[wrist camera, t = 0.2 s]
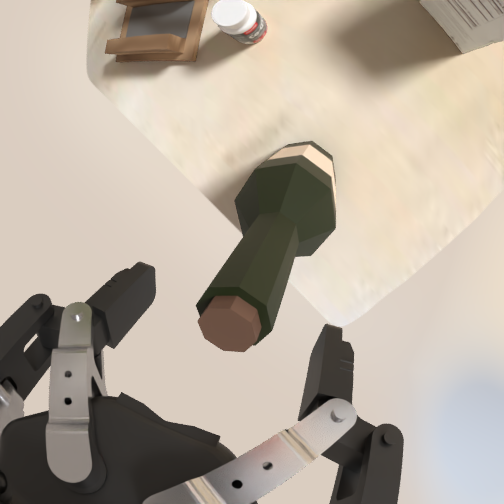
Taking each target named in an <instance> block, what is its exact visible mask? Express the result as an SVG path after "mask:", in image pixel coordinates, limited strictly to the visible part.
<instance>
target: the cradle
mask: <svg viewBox="0 0 504 504" xmlns="http://www.w3.org/2000/svg"><path fill="white" fill-rule="evenodd" d="M208 1H209V0H116V3H120V4H123V5H127V9H126V13H125V17H124V22H123V26H122V31H121V36H120V38H118V39H111V40H107V45H106V50H105V54H116V55H117V57H116V62H132V61H196V56H197V51H198V46H199V41H200V36H201V31H202V27H203V22H204V18H205V14H206V10H207V5H208Z"/></svg>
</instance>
